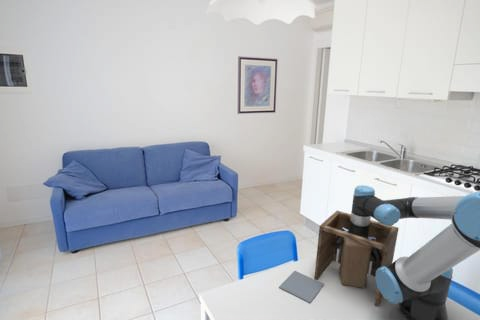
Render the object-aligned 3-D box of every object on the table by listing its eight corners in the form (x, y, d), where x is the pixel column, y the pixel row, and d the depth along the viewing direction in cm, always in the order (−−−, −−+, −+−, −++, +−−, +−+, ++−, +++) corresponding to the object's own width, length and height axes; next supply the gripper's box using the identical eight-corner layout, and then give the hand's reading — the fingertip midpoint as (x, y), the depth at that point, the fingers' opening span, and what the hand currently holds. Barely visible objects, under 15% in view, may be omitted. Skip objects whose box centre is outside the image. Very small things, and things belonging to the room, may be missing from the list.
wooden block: (366, 289, 121) (372, 246, 116) (341, 285, 123) (346, 243, 118) (361, 274, 131) (367, 234, 125) (338, 271, 133) (343, 231, 127)
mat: (324, 284, 123) (324, 283, 123) (310, 303, 112) (310, 302, 112) (294, 271, 131) (294, 270, 131) (278, 287, 120) (278, 286, 120)
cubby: (389, 280, 127) (398, 227, 120) (377, 307, 111) (388, 248, 105) (331, 258, 142) (336, 210, 136) (314, 278, 127) (319, 225, 120)
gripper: (394, 228, 115) (386, 274, 121) (333, 210, 130) (328, 252, 135) (390, 236, 110) (382, 284, 115) (327, 216, 124) (322, 259, 130)
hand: (353, 267), depth 125 cm, fingers open, 13 cm apart
